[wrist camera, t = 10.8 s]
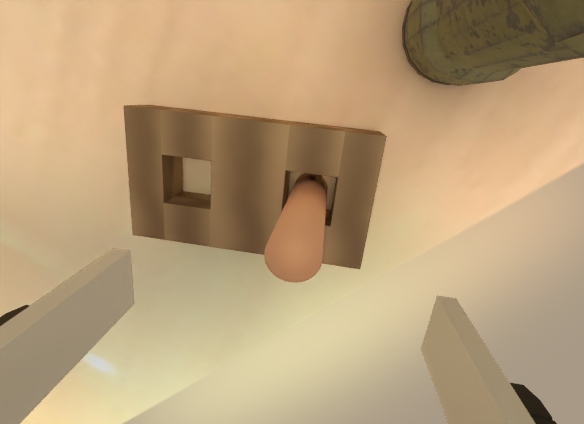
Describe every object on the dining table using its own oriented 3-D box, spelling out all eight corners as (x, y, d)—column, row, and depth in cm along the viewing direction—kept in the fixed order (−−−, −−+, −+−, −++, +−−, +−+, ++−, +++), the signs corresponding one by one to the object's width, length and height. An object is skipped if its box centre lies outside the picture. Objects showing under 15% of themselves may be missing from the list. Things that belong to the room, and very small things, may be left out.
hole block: (154, 220, 35) (132, 234, 31) (149, 104, 31) (123, 105, 27) (357, 250, 33) (360, 269, 30) (379, 131, 29) (386, 136, 26)
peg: (293, 200, 32) (262, 277, 18) (296, 169, 31) (266, 225, 17) (325, 204, 32) (317, 286, 18) (329, 173, 31) (326, 234, 17)
